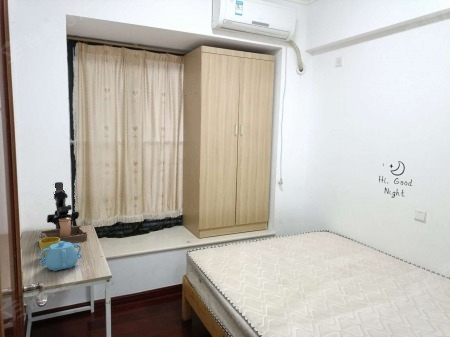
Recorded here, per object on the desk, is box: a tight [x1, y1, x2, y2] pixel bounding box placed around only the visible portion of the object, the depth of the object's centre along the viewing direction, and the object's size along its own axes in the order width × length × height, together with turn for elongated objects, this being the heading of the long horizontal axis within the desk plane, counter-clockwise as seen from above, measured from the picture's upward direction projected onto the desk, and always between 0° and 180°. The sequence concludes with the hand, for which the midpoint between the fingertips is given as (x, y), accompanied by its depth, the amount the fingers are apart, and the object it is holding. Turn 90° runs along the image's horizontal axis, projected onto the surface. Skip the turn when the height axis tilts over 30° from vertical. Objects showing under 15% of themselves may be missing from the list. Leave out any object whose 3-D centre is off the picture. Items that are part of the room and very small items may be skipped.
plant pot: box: [38, 237, 60, 258], centre depth 177 cm, size 10×10×10 cm
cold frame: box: [40, 225, 88, 243], centre depth 205 cm, size 16×24×6 cm
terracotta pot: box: [59, 217, 71, 238], centre depth 202 cm, size 7×7×13 cm
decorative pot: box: [39, 241, 83, 272], centre depth 163 cm, size 16×16×14 cm
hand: (65, 227), depth 201 cm, fingers closed on terracotta pot, 7 cm apart
